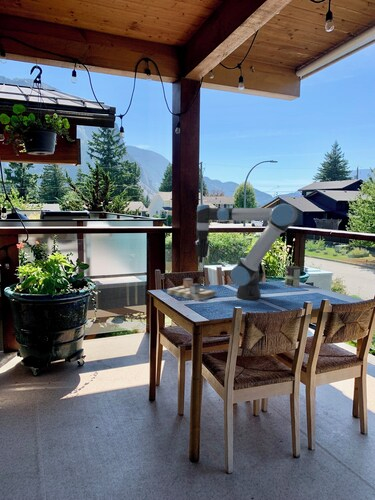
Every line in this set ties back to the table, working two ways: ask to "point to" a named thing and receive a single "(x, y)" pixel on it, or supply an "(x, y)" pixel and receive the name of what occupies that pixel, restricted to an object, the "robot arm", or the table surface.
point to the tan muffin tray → (186, 293)
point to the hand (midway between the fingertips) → (201, 267)
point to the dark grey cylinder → (260, 272)
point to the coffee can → (292, 276)
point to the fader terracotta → (187, 282)
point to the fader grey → (195, 288)
